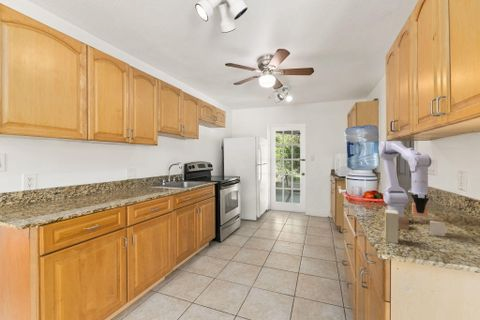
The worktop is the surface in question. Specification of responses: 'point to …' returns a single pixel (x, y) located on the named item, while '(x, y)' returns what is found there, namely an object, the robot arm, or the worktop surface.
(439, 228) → the beige cube
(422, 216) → the terracotta cube
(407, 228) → the walnut cube
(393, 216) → the skincare box
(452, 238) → the worktop surface
